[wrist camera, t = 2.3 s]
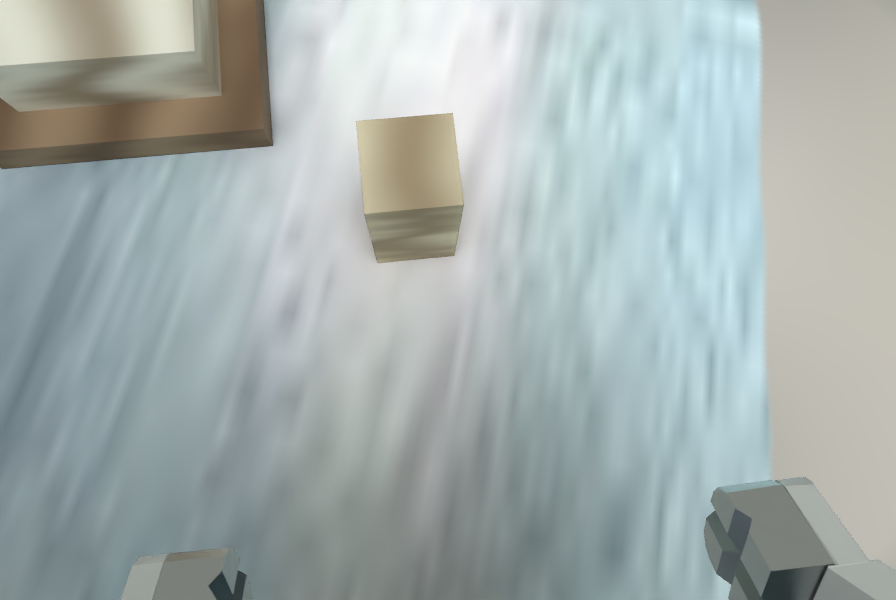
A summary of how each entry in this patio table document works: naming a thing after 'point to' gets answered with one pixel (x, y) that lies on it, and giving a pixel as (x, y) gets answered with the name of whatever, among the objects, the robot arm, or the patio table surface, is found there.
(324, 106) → the patio table surface
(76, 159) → the plinth
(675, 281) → the patio table surface
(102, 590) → the patio table surface
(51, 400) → the patio table surface
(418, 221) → the birch block
